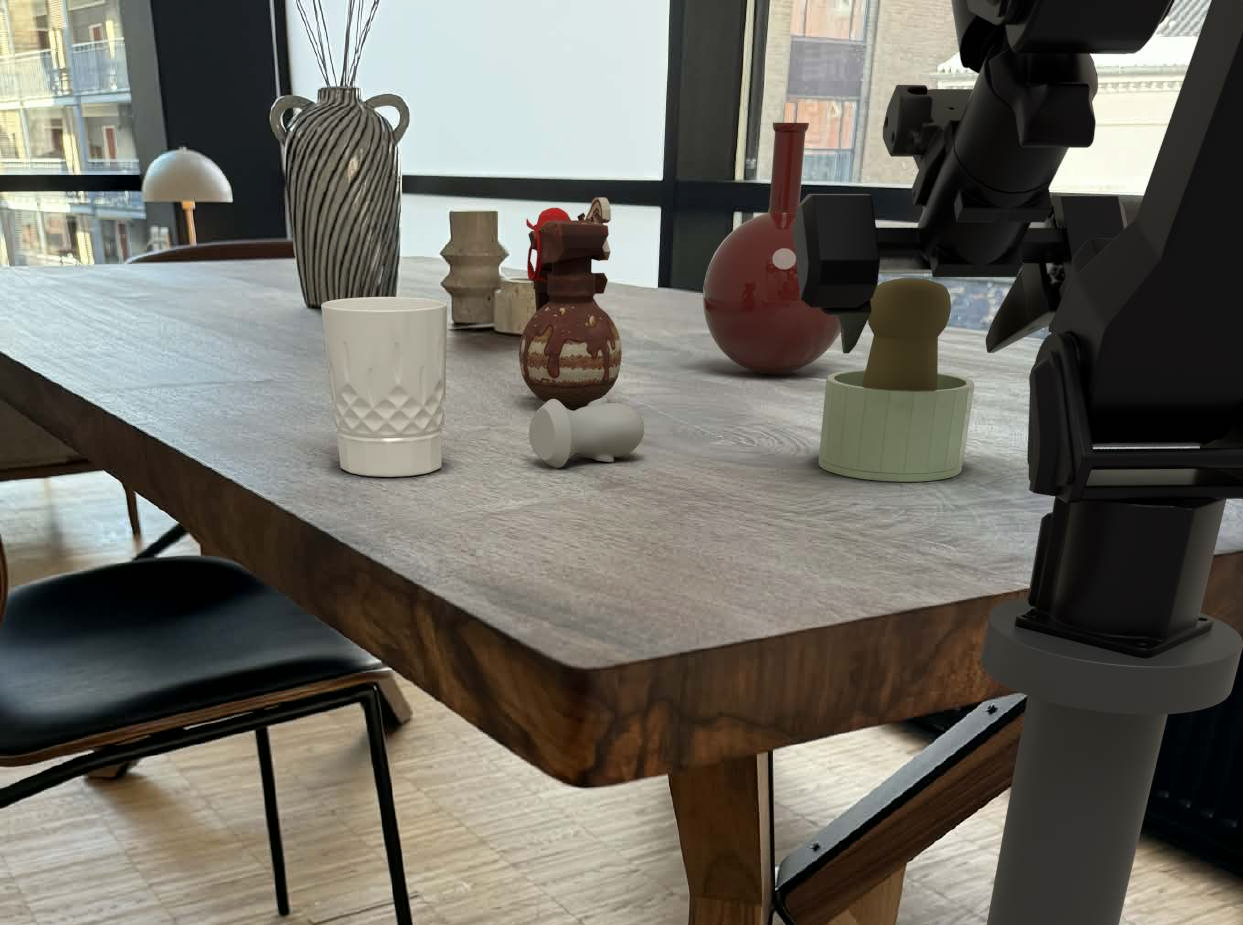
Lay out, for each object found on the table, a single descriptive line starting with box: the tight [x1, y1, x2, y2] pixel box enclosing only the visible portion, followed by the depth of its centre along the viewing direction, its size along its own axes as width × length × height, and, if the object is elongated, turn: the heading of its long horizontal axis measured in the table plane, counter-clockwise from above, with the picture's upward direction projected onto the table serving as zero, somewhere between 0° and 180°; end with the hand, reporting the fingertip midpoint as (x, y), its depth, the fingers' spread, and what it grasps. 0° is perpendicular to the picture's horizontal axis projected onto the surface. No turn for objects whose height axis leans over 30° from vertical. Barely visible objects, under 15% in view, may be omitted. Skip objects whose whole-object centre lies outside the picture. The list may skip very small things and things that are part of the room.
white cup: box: [320, 296, 448, 478], centre depth 93 cm, size 8×8×10 cm
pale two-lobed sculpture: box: [528, 397, 645, 469], centre depth 97 cm, size 4×8×5 cm
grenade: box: [518, 197, 623, 409], centre depth 113 cm, size 10×8×15 cm
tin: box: [818, 368, 976, 483], centre depth 96 cm, size 9×9×6 cm
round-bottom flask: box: [702, 122, 841, 375], centre depth 127 cm, size 13×13×20 cm
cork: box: [862, 277, 952, 391], centre depth 94 cm, size 6×6×11 cm
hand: (917, 347), depth 91 cm, fingers open, 9 cm apart
